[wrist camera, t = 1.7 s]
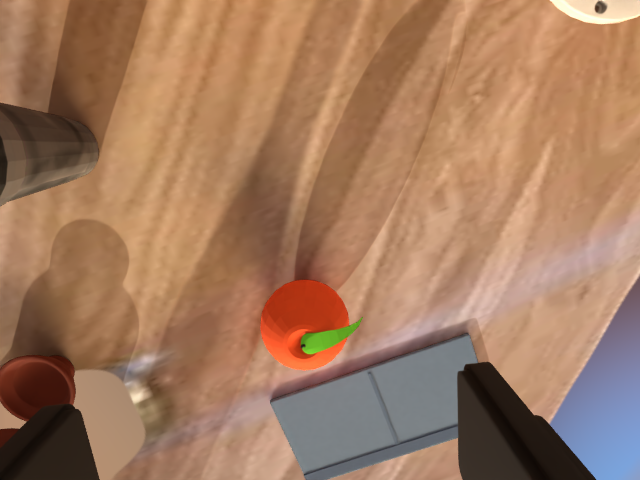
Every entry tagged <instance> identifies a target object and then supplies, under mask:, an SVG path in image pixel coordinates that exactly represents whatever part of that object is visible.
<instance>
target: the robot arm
mask: <svg viewBox="0 0 640 480" xmlns="http://www.w3.org/2000/svg"><path fill="white" fill-rule="evenodd" d="M550 1H551V2H552V3H553V4H554V5H555V6H556V7H557V8H558V9H560V10H561V11H563V12H564V13H566V14H567V15H569V16H570V17H573V18H576V19H578V20H581V21H584V22H589V23H596V24H609V23H618V22H622V21H625V20H629V19H633V18H635V17H638V16H640V0H550ZM457 398H458V459H459V468H460V473H461V476H462V479H463V480H596V479H595V477H594V476H593V475H592V474H591V473H590V472H589V471H588V469H587V468H586V467H585V466H584V465H583V463H582V462H581V461H580V460H579V459H578V458H577V456H576V455H575V454H574V453H573V452H572V451H571V449H570V448H569V447H568V446H567V445H566V444H565V442H564V441H563V440H562V439H561V438H560V436H559V435H558V434H557V433H556V432H555V431H554V429H553V428H552V427H551V426H550V425H549V424H548V422H547V421H546V420H545V419H543V418H542V417H541V416H538V415H533V414H532V412H531V411H530V410H529V409H528V407H527V406H526V405H525V404H524V403H523V401H522V400H521V399H520V398H519V397H518V395H517V394H516V393H515V392H514V390H513V389H512V388H511V387H510V386H509V384H508V383H507V382H506V381H505V380H504V378H503V377H502V376H501V375H500V374H499V372H498V371H497V370H496V369H495V367H494V366H493V365H492V364H491V363H490V362H482V363H472V364H466V365H465V366H464V370H463V371H458V373H457ZM0 480H100V479H99V476H98V472H97V468H96V465H95V461H94V457H93V454H92V450H91V447H90V443H89V439H88V435H87V432H86V428H85V425H84V421H83V418H82V414H81V412H80V411H79V410H78V409H75V407H74V406H73V405H72V404H59V405H49V406H44V407H42V408H41V409H40V410H39V411H38V412H37V413H36V414H35V415H33V416H32V417H31V418H30V419H29V420H28V421H27V422H26V423H25V424H24V425H23V426H22V427H21V428H20V429H19V430H18V431H17V432H16V433H15V434H14V435H13V436H12V437H11V438H10V439H9V440H8V441H7V442H6V443H5V444H4V445H3V446H2V447H1V448H0Z"/></svg>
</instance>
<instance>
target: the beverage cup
mask: <svg viewBox="0 0 640 480" xmlns="http://www.w3.org/2000/svg"><path fill="white" fill-rule="evenodd" d="M98 154H99V150H98V145H97V142H96V140H95V138H94V136H93V134H92V133H91V132H90V131H89V129H88V128H87V127H86V126H84V125H82V124H81V123H79V122H78V121H74V120H70V119H67V118H64V117H61V116H57V115H53V114H48V113H44V112H40V111H35V110H31V109H26V108H22V107H18V106H13V105H9V104H4V103H0V206H2V205H4V204H6V203H7V202H9V201H12V200H15V199H18V198H21V197H24V196H27V195H30V194H33V193H36V192H39V191H42V190H45V189H48V188H51V187H55V186H58V185H61V184H64V183H67V182H70V181H72V180H75V179H77V178H79V177H82V176H84V175H87V174H88V173H89V172H90V171H92V170H93V169H94V167H95V165H96V163H97V161H98Z"/></svg>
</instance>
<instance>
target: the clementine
mask: <svg viewBox="0 0 640 480" xmlns="http://www.w3.org/2000/svg"><path fill="white" fill-rule="evenodd" d="M362 318H363V317H362ZM362 318H361V319H360V320H359V321H358V322H356V323H354V324H352V325H350V326H349V318H348V312H347V310H346V307H345V305H344V303H343V301H342V299H341V298H340V297H339V296H338V294H337V293H336V292H335V291H334V290H333V289H331V288H330V287H329V286H327V285H325V284H323V283H320V282H318V281H313V280H296V281H293V282H290V283H287V284H285V285H283V286H282V287H280V288H279V289H277V290H276V291H275V292H274V293H273V295H272V296H271V297H270V298H269V300H268V301H267V302H266V305H265V307H264V309H263V311H262V317H261V333H262V339H263V341H264V343H265V345H266V348H267V349H268V351H269V352H270V353H271V354H272V355H273V357H274V358H275V359H276V360H277V361H279V362H280V363H282V364H283V365H285V366H288V367H290V368H293V369H299V370H311V369H316V368H319V367H322V366H324V365H326V364H327V363H329V362H330V361H332V360H333V359H334V358H335V356H336V355H337V354H338V353H339V352H340V351H341V350H342V348H343V346H344V344H345V342H346V340H347V337H348V336H349V335H351V334H352V333H353V332H354V331H355V330H356V328H357V327H358V326H359V325H360V322H361V320H362Z"/></svg>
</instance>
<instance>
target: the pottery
mask: <svg viewBox="0 0 640 480" xmlns="http://www.w3.org/2000/svg"><path fill="white" fill-rule="evenodd" d="M74 373H75V371H74V367H73V365H72V364H71V362H70V361H69V360H67V359H66V358H64V357H62V356H57V355H54V356H49V357H48V356H41V355H26V356H20V357H17V358H14V359H12V360H10V361H8V362H7V363H5V364H4V365H3V366H2V367H1V369H0V402H1V403H2V405H3V406H4V407H5V408H6V409H7V410H8V411H9V412H10V413H11V414H13V415H14V416H16V417H17V418H19V419H22V420H24V421H28V420H29V419H30V418H31V417H32V416H33V415H35V414H36V413H37V412H38V411H39V410H40V409H41V408H42V407H44V406H49V405H59V404H72V405H73V403H74V399H75V394H76V389H75V383H74V378H73V377H74ZM18 430H19V429H13V428H11V429H0V448H1V447H2V446H3V445H4V444H5V443H6V442H7V441H8V440H9V439H10V438H11V437H12V436H13V435H14V434H15V433H16V432H17V431H18Z"/></svg>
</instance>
